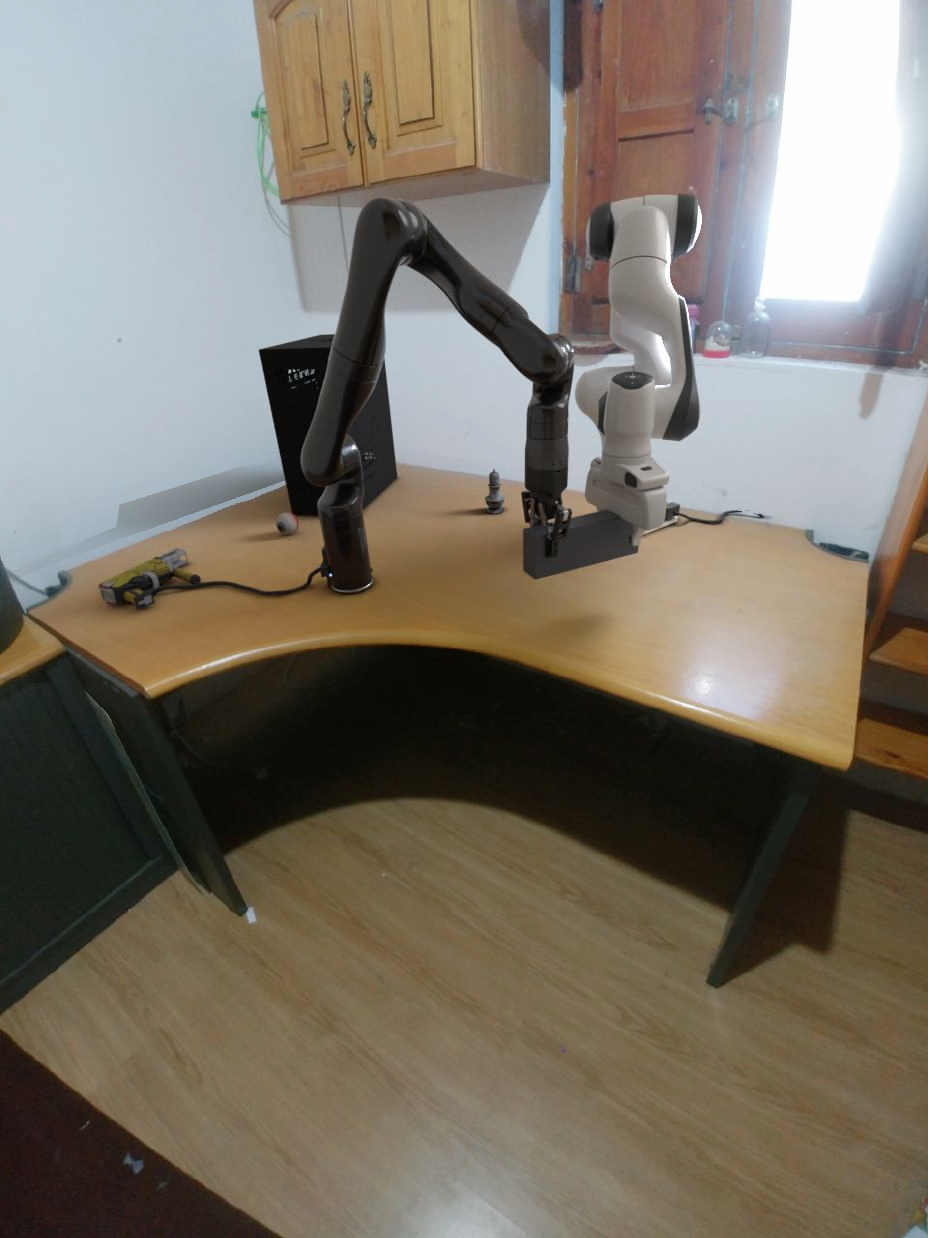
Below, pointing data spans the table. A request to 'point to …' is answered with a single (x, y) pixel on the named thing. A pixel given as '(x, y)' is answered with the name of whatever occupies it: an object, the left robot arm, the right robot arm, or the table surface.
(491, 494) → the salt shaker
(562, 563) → the bar
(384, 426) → the cardboard box
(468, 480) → the table surface
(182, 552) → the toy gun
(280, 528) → the eyeball
